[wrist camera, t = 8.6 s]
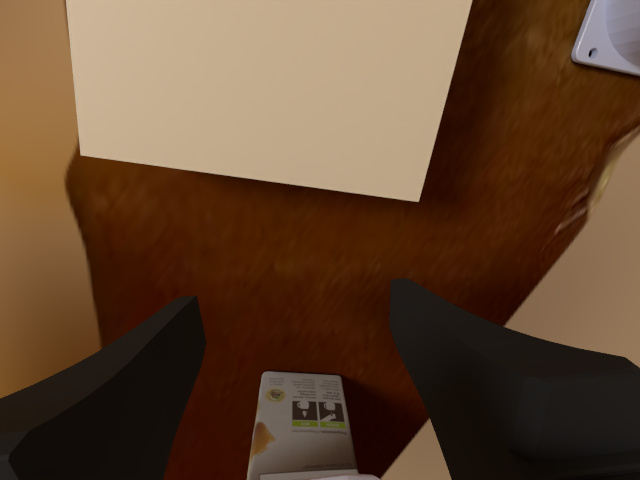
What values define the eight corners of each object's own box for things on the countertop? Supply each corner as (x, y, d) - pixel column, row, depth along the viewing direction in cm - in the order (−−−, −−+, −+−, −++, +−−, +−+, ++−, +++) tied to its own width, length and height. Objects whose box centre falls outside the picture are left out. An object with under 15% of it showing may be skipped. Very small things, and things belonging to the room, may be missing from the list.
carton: (436, -63, 16) (514, -159, 10) (383, 178, 20) (418, 202, 15) (136, -139, 14) (37, -305, 9) (145, 143, 18) (80, 155, 13)
